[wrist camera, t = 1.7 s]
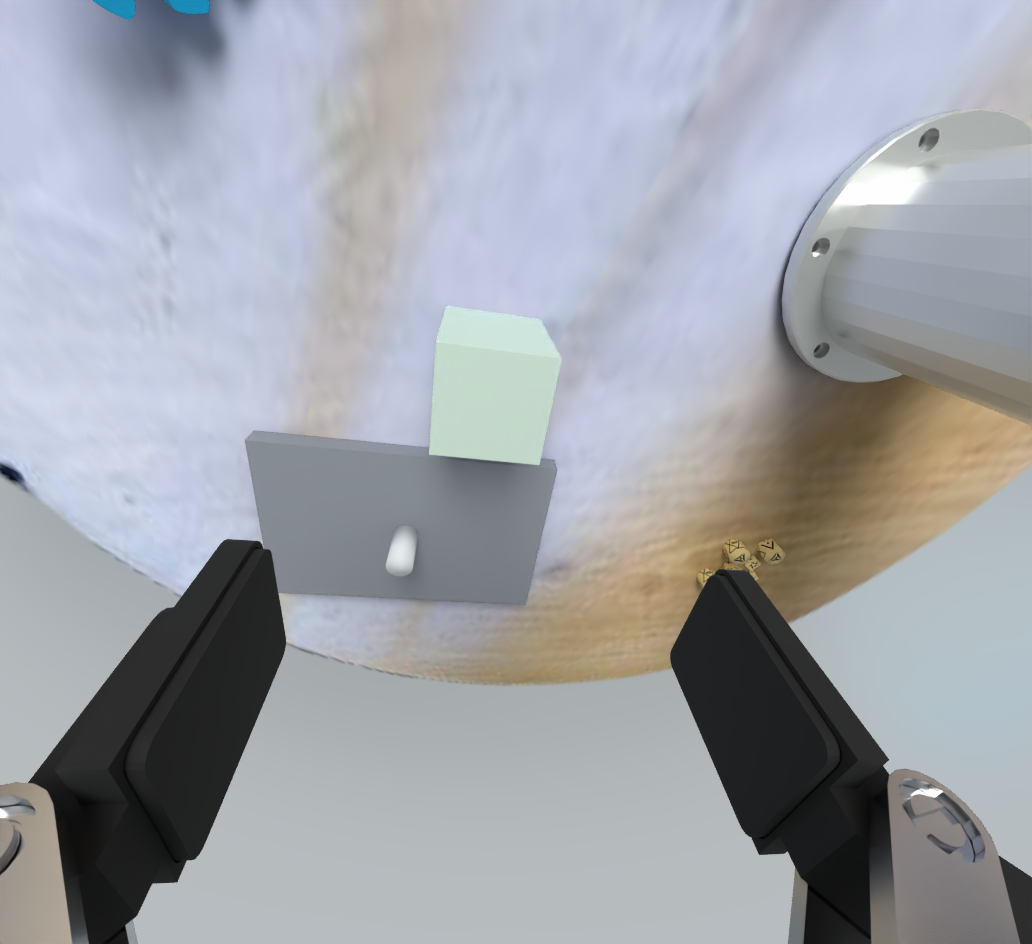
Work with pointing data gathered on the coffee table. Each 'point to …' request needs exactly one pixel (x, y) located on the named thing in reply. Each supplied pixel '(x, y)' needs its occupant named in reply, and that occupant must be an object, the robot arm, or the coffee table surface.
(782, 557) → the dice set
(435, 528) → the pin plate
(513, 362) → the block
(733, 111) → the coffee table surface
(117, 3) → the gear
